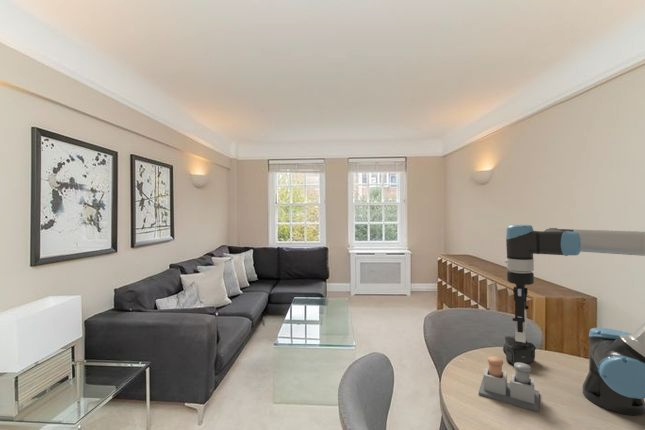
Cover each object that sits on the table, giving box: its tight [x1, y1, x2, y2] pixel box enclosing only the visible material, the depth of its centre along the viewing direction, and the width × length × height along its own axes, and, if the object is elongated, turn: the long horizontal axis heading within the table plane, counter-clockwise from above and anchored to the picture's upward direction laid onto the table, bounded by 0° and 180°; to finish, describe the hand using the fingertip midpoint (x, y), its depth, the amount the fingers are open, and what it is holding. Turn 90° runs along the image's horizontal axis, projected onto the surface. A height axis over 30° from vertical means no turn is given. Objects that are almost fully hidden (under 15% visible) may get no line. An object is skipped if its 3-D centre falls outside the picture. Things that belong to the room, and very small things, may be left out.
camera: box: [502, 335, 537, 366], centre depth 130 cm, size 13×10×10 cm
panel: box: [478, 366, 540, 413], centre depth 107 cm, size 17×12×6 cm
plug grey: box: [513, 362, 532, 385], centre depth 105 cm, size 5×5×6 cm
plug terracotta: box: [487, 356, 504, 378], centre depth 109 cm, size 5×5×6 cm
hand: (521, 334), depth 105 cm, fingers open, 13 cm apart
